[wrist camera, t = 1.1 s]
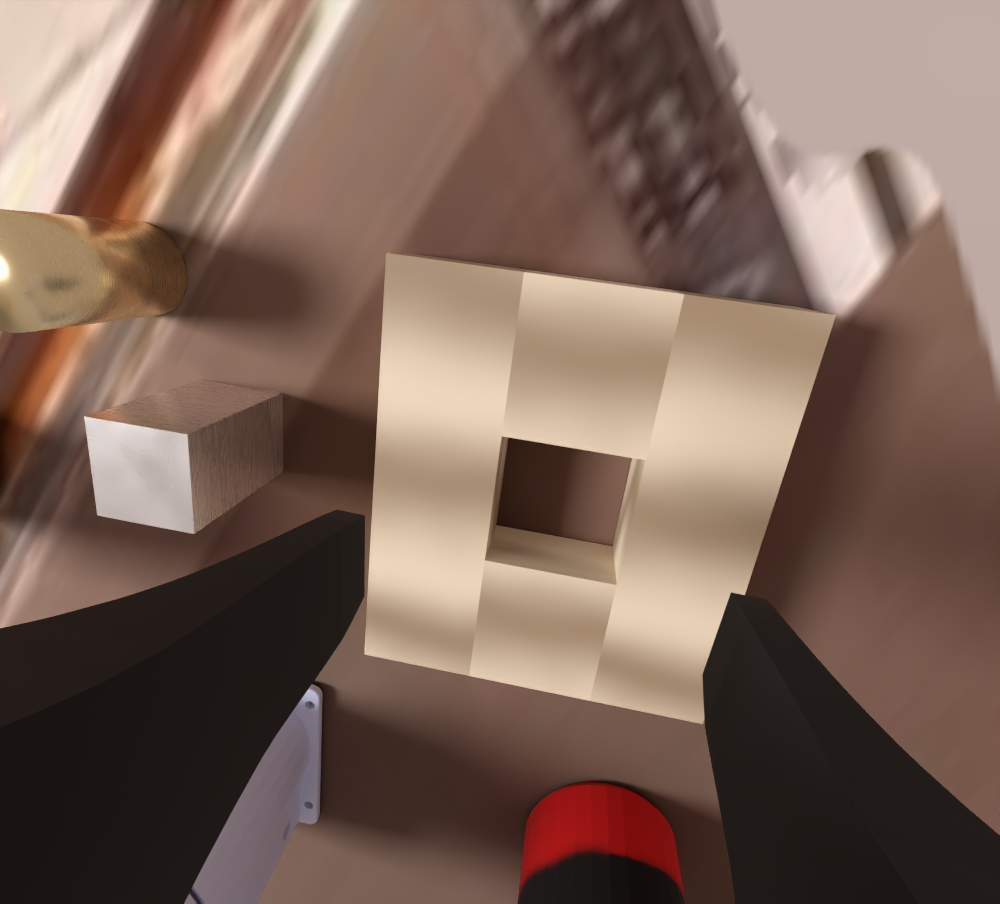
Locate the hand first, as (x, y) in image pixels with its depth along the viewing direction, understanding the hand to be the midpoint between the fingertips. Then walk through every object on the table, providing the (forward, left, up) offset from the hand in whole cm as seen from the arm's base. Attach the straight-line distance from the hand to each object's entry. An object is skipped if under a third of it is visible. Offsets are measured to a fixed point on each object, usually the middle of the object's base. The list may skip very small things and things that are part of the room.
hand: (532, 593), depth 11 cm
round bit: (+4, +17, -12) cm, 21 cm away
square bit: (-2, +13, -12) cm, 18 cm away
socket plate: (-2, -1, -12) cm, 12 cm away
